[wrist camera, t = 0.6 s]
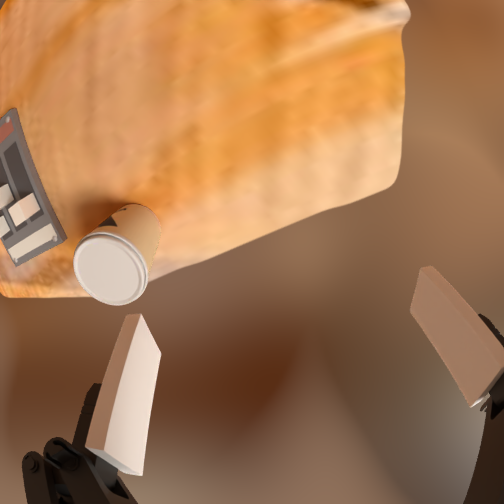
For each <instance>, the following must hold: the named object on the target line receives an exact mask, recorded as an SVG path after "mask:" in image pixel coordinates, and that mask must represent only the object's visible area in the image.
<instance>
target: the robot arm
mask: <svg viewBox="0 0 504 504" xmlns="http://www.w3.org/2000/svg"><path fill="white" fill-rule="evenodd" d="M410 312H411V314H412V315H413V317H414V318H415V320H416V321H417V322H418V324H419V325H420V327H421V328H422V330H423V331H424V332H425V334H426V336H427V337H428V338H429V340H430V341H431V343H432V345H433V346H434V347H435V349H436V351H437V352H438V354H439V355H440V357H441V358H442V360H443V361H444V363H445V365H446V366H447V368H448V370H449V371H450V373H451V375H452V376H453V378H454V379H455V381H456V383H457V385H458V386H459V388H460V390H461V392H462V393H463V395H464V397H465V399H466V401H467V402H468V404H469V406H470V407H472V406H473V405H475V404H477V403H478V402H480V401H482V400H483V398H484V397H485V396H486V395H487V394H488V392H489V394H490V397H489V398H488V399H487V401H486V402H485V403H484V404H483V405H482V407H481V409H480V411H482V410H483V409H484V408H485V407H486V406H487V408H486V410H485V412H486V419H485V425H484V431H483V436H482V441H481V446H480V450H479V454H478V458H477V462H476V466H475V470H474V473H473V477H472V480H471V483H470V486H469V489H468V492H467V495H466V498H465V500H464V503H463V504H504V337H503V336H502V335H500V332H499V331H498V330H497V329H495V326H494V325H493V324H492V322H491V321H490V320H489V319H487V318H486V317H485V316H483V315H481V314H478V315H477V314H476V313H475V311H474V310H473V309H472V308H471V307H470V306H469V305H468V304H467V302H466V301H465V300H464V299H463V298H462V297H461V296H460V295H459V293H458V292H457V291H456V290H455V289H454V288H453V287H452V286H451V285H450V284H449V283H448V282H447V281H446V280H445V278H444V277H443V276H442V275H441V274H440V273H439V272H438V271H437V270H436V269H435V268H434V267H433V266H427V267H423V268H420V272H419V276H418V280H417V284H416V289H415V292H414V296H413V300H412V304H411V307H410ZM160 357H161V352H160V351H159V349H158V347H157V345H156V343H155V341H154V339H153V337H152V335H151V333H150V331H149V329H148V327H147V325H146V323H145V321H144V319H143V317H142V314H130V315H126V318H125V320H124V323H123V325H122V328H121V331H120V334H119V336H118V339H117V341H116V344H115V347H114V350H113V353H112V356H111V359H110V361H109V364H108V368H107V370H106V373H105V376H104V379H103V383H102V384H97V383H94V384H93V385H92V387H91V388H90V390H89V391H88V392H87V395H86V398H85V401H84V406H83V407H82V410H81V414H80V417H79V421H78V424H77V428H76V431H75V435H74V439H73V442H72V445H71V444H70V443H69V442H67V441H66V440H64V439H63V438H60V437H56V438H52V439H51V440H50V441H48V442H47V443H46V445H45V447H44V452H43V455H44V457H43V456H41V455H40V454H39V453H37V452H35V451H34V452H33V451H31V452H28V453H27V454H26V455H25V456H24V458H23V461H22V471H23V478H24V486H25V492H26V498H27V503H28V504H138V503H137V501H136V500H135V499H134V497H133V496H132V494H131V493H130V492H129V490H128V489H127V487H126V486H125V484H124V483H123V481H122V480H121V478H120V477H119V476H118V475H117V472H118V469H119V470H121V471H122V472H124V473H127V474H134V475H140V476H142V475H143V465H144V457H145V448H146V441H147V433H148V426H149V420H150V413H151V407H152V401H153V395H154V389H155V383H156V378H157V372H158V367H159V362H160Z"/></svg>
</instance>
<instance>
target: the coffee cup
mask: <svg viewBox="0 0 504 504" xmlns="http://www.w3.org/2000/svg"><path fill="white" fill-rule="evenodd" d="M160 236H161V226H160V223H159V220H158V218H157V217H156V215H155V214H154V213H153V212H152V211H151V210H150V209H148V208H147V207H145V206H142V205H138V204H129V205H126V206H124V207H122V208H120V209H119V210H118V211H116V212H115V213H114V214H112V215H111V216H110V217H109V218H107V219H106V220H105V221H104V222H102V223H101V224H100V225H99V226H98V227H96V228H95V229H94V230H93V231H92V232H91V233H89V234H88V235H86V236H85V237H84V238H82V239H81V241H80V242H79V243H78V245H77V247H76V249H75V252H74V260H73V266H74V271H75V275H76V277H77V279H78V281H79V283H80V285H81V286H82V287H83V289H84V290H85V291H86V292H87V293H88V294H89V295H91V296H92V297H93V298H95V299H97V300H99V301H101V302H103V303H106V304H110V305H124V304H128V303H130V302H132V301H134V300H136V299H137V298H138V297H139V296H140V295H141V294H142V293H143V292H144V290H145V288H146V286H147V282H148V276H149V272H150V269H151V266H152V263H153V260H154V256H155V253H156V250H157V247H158V244H159V240H160Z"/></svg>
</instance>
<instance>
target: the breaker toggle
mask: <svg viewBox="0 0 504 504" xmlns="http://www.w3.org/2000/svg"><path fill="white" fill-rule="evenodd" d="M13 200H14V198H13V195H12V193H11V191H10V188H9V186H8V184H6V185H4V186H2V187H0V210H1V209H2V208H4V207H5V206H7V205H8V204H9V203H10V202H12V201H13Z"/></svg>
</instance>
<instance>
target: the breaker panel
mask: <svg viewBox="0 0 504 504" xmlns="http://www.w3.org/2000/svg"><path fill="white" fill-rule="evenodd" d="M6 184H8V186H9V188H10V191H11V193H12V195H13V198H14V200H13V201H12V202H10V203H9V204H8V205H7V206H5V207H4V208H2V209H1V210H0V238H1V240H2V242H3V244H4V246H5V248H6V250H7V252H8V254H9V255H10V257H11V259H12V261H13V263H14V264H15V266H16V267H17V266H19V265H21V264H22V263H24V262H26V261H28V260H30V259H32V258H34V257H35V256H37V255H39V254H41V253H43V252H45V251H47V250H49V249H51V248H53V247H55V246H57V245H59V244H61V243H63V242H64V241H65V240H66V239H67V236H66V234H65V232H64V230H63V228H62V227H61V225H60V223H59V221H58V218H57V216H56V214H55V212H54V210H53V208H52V206H51V204H50V201H49V199H48V197H47V195H46V192H45V190H44V188H43V185H42V183H41V181H40V178H39V176H38V173H37V171H36V168H35V165H34V163H33V160H32V157H31V154H30V152H29V149H28V146H27V143H26V140H25V137H24V133H23V130H22V127H21V123H20V120H19V116H18V113H17V109H16V108H15V109H10V110H9V111H8V112H7V113H6V114H5V115H4V116H3V117H2V118H1V119H0V187H2V186H4V185H6Z"/></svg>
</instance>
